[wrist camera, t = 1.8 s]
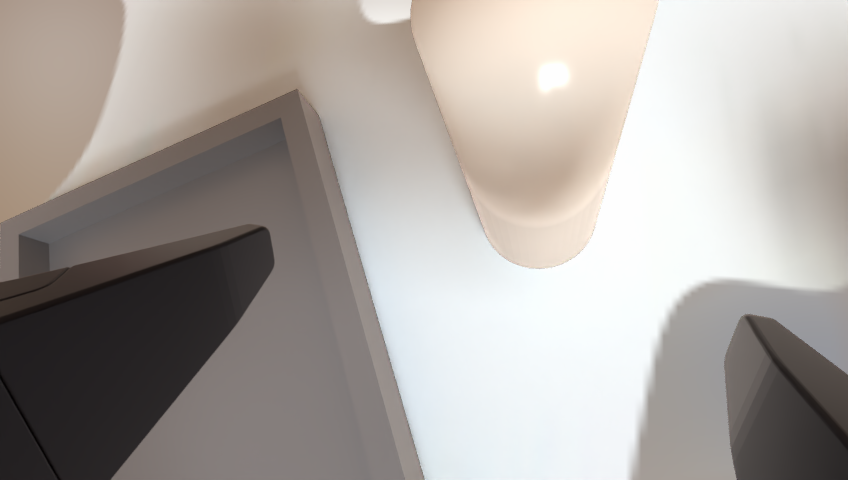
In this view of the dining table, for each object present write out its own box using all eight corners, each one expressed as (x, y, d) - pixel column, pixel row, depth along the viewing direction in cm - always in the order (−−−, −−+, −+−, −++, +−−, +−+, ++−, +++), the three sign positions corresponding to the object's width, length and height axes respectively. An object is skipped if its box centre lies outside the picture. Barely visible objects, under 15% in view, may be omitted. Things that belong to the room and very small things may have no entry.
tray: (467, 629, 18) (455, 663, 16) (57, 752, 20) (-8, 798, 18) (318, 115, 27) (297, 89, 24) (44, 237, 29) (0, 223, 26)
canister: (616, 243, 21) (711, 31, 9) (506, 285, 21) (455, 139, 9) (567, 148, 23) (592, -134, 11) (467, 189, 23) (383, -35, 11)
